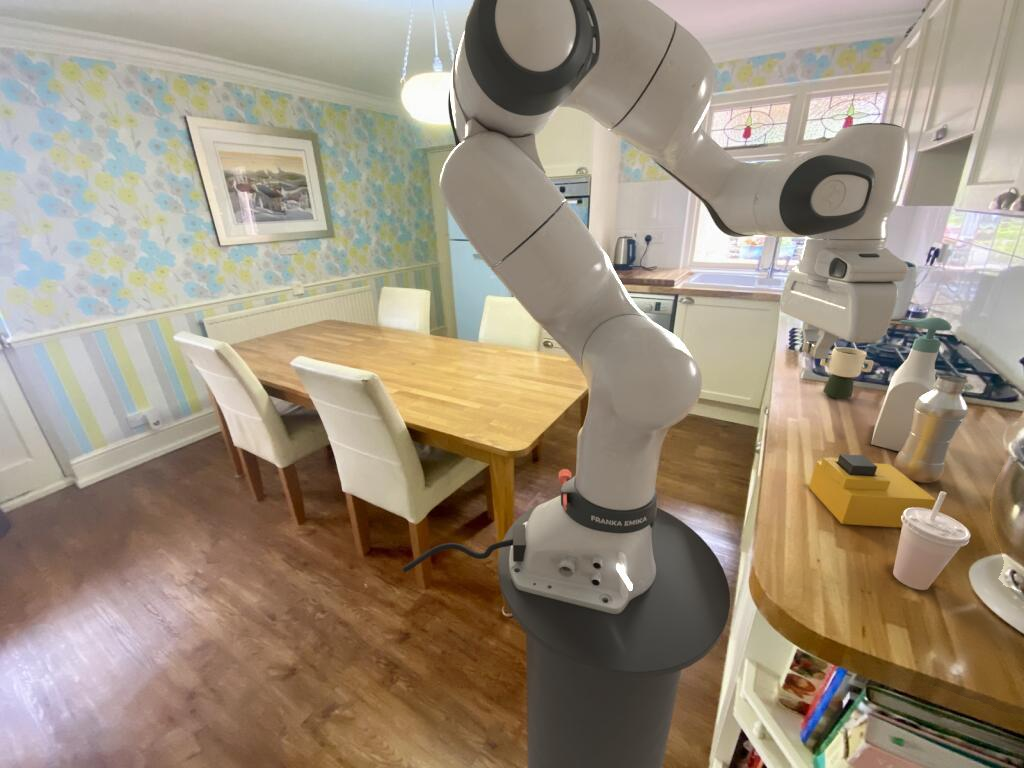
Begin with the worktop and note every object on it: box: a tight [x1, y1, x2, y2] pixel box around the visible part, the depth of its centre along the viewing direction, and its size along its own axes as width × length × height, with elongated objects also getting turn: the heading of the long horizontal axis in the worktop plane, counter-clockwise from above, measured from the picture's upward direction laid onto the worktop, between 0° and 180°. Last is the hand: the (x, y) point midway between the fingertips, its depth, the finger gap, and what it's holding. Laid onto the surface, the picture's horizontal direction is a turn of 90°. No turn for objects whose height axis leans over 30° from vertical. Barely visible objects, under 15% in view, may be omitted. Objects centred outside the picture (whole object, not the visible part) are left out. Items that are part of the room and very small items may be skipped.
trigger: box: [837, 453, 877, 476], centre depth 69 cm, size 4×4×2 cm
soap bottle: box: [870, 316, 953, 453], centre depth 87 cm, size 11×8×27 cm
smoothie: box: [892, 490, 971, 591], centre depth 55 cm, size 6×6×14 cm
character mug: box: [819, 346, 875, 399], centre depth 111 cm, size 11×7×13 cm, turn 57°
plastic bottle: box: [893, 375, 969, 484], centre depth 75 cm, size 6×7×20 cm
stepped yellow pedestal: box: [808, 457, 937, 529], centre depth 70 cm, size 12×10×8 cm
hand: (813, 355), depth 63 cm, fingers closed
